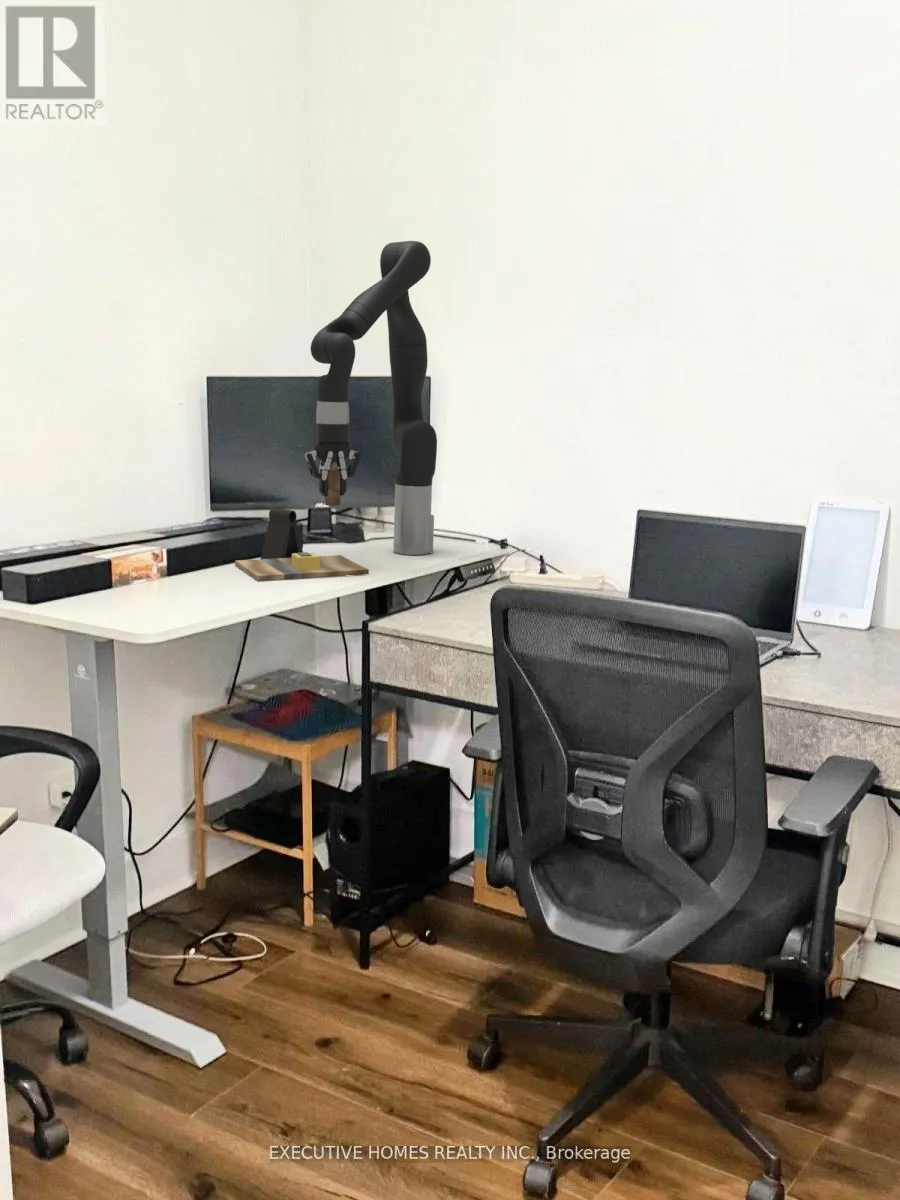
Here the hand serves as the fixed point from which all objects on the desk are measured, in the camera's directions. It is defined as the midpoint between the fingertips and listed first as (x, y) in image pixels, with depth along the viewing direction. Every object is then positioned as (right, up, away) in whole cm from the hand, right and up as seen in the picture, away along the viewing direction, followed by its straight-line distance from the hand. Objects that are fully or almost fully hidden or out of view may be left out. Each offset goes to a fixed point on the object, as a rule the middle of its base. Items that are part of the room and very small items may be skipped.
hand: (332, 495), depth 273 cm
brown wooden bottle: (0, -2, +1) cm, 2 cm away
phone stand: (-13, -15, +8) cm, 21 cm away
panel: (-7, -18, -5) cm, 19 cm away
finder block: (-5, -17, -8) cm, 20 cm away
